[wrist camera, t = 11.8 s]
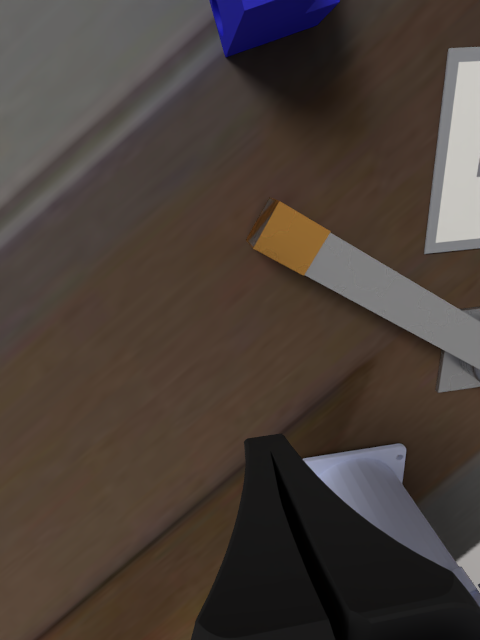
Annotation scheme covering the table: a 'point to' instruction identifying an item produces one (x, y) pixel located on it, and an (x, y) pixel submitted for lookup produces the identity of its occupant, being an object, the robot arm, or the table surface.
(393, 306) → the orange-tipped grey bar
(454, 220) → the label
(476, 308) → the pivot base
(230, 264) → the table surface
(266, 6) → the blue cradle mount
